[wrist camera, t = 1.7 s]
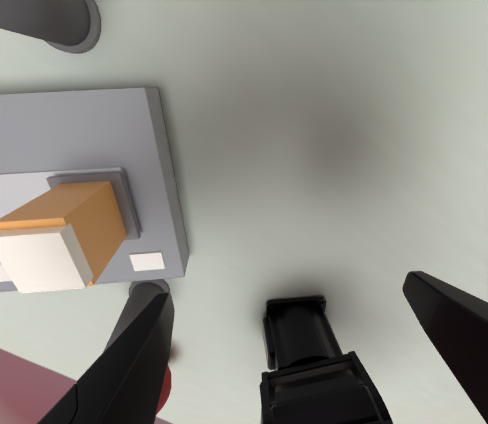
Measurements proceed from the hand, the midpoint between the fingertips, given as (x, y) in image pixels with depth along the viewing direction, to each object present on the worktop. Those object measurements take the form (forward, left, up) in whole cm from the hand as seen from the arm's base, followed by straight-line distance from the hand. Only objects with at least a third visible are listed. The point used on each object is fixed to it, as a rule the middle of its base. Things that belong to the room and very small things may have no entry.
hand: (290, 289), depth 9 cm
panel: (+14, 0, -12) cm, 19 cm away
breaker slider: (+11, 0, -8) cm, 14 cm away
